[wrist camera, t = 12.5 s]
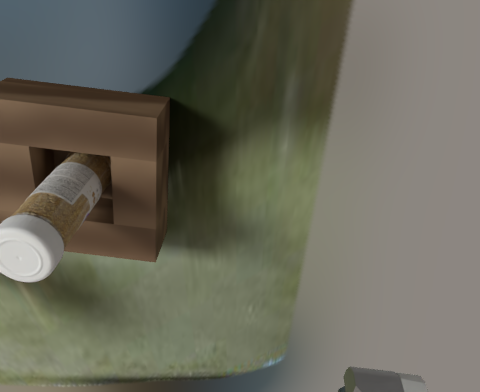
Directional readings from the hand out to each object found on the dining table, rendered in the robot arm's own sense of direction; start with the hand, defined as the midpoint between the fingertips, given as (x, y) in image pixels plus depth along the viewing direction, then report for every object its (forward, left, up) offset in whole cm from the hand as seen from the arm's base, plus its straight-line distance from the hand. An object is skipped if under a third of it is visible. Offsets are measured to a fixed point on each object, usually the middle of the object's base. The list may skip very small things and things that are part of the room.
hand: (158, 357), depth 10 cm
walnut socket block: (+12, -13, -30) cm, 35 cm away
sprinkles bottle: (+12, -13, -29) cm, 34 cm away
